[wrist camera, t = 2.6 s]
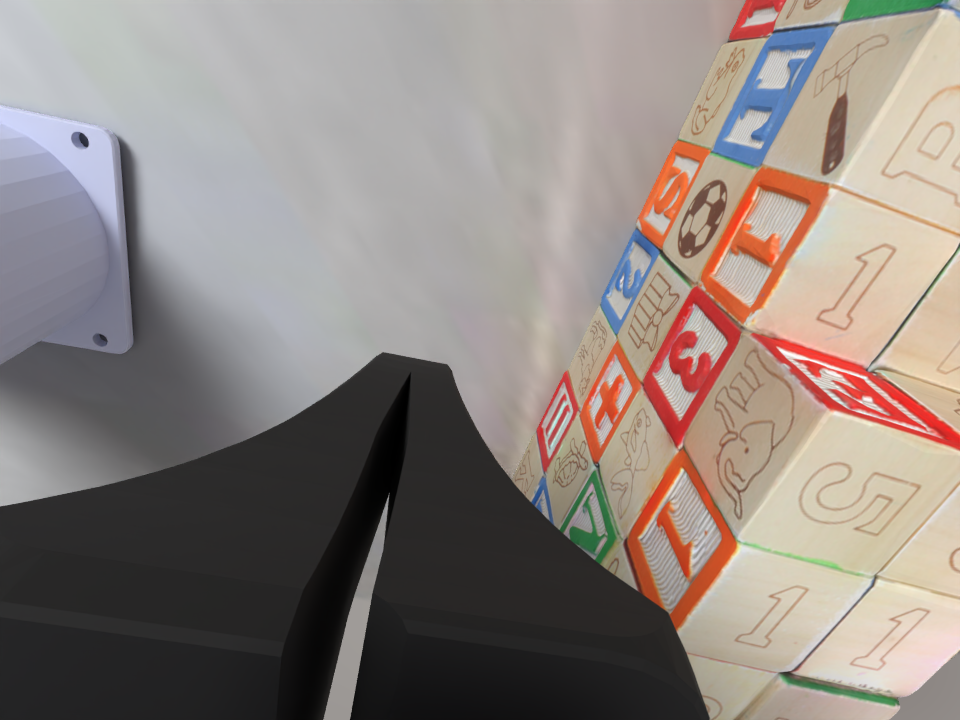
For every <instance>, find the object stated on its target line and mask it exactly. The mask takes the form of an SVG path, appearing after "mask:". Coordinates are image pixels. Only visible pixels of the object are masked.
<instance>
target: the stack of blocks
mask: <svg viewBox="0 0 960 720" xmlns="http://www.w3.org/2000/svg"><path fill="white" fill-rule="evenodd" d="M636 223H637V224H636V230H635V231H634V233H633V235H632V237H631V239H630V241H629V243H628V245H627V247H626V249H625V252H624V254H623V256H622V258H621V260H620V262H619V264H618V266H617V268H616V270H615V272H614V274H613V276H612V278H611V280H610V282H609V284H608V286H607V288H606V290H605V292H604V294H603V296H602V299H601V304H600V306H599V307H598V309H597V311H596V313H595V315H594V317H593V319H592V321H591V323H590V325H589V327H588V329H587V331H586V333H585V335H584V337H583V339H582V342H581V344H580V346H579V348H578V350H577V352H576V354H575V356H574V358H573V360H572V363H571V365H570V367H569V369H568V370H567V371H566V372H565V373H564V375H563V377H562V379H561V381H560V383H559V385H558V387H557V389H556V391H555V393H554V396H553V398H552V400H551V402H550V404H549V406H548V408H547V410H546V412H545V414H544V416H543V418H542V420H541V422H540V424H539V426H538V428H537V431H536V433H535V434H534V435H533V437H532V440H531V442H530V444H529V446H528V448H527V450H526V452H525V454H524V456H523V458H522V460H521V462H520V464H519V466H518V468H517V470H516V472H515V474H514V476H513V478H512V481H513V483H514V484H515V485H516V486H517V487H518V489H519V490H520V491H521V492H522V493H523V494H524V495H525V496H526V497H527V499H528V500H529V501H530V502H531V503H532V504H533V505H534V506H535V507H536V508H537V509H538V510H539V511H540V512H541V513H542V514H543V515H544V516H545V517H546V518H547V519H548V520H549V521H550V522H551V523H552V524H553V525H554V526H556V527H557V528H558V529H559V530H560V531H561V532H562V533H563V534H564V535H566V536H567V537H568V538H569V539H570V540H571V541H572V542H574V543H575V544H576V545H577V546H578V547H580V548H581V549H582V550H583V551H584V552H586V553H587V554H588V555H589V556H591V557H592V558H593V559H594V560H595V561H597V562H598V563H599V564H600V565H602V566H603V567H604V568H606V569H607V570H608V571H610V572H611V573H613V574H614V575H615V576H617V577H618V578H620V579H621V580H623V581H624V582H625V583H627V584H628V585H630V586H631V587H633V588H634V589H636V590H637V591H638V592H640V593H641V594H643V595H644V596H646V597H647V598H648V599H650V600H651V601H653V602H654V603H656V604H657V605H659V606H660V607H661V608H663V609H664V610H666V611H667V612H668V613H669V615H670V617H671V620H672V622H673V624H674V627H675V629H676V631H677V633H678V635H679V638H680V640H681V642H682V644H683V646H684V648H685V651H686V653H687V655H688V658H689V661H690V663H691V666H692V669H693V671H694V674H695V677H696V680H697V683H698V686H699V689H700V691H701V694H702V697H703V700H704V703H705V706H706V708H707V711H708V714H709V717H710V720H889V719H890V718H891V717H893V716H894V715H895V714H896V713H897V711H898V710H899V709H900V704H899V701H898V698H899V697H904V696H908V695H910V694H912V693H914V692H915V691H916V690H918V689H919V688H920V687H921V686H922V685H923V684H924V683H925V682H926V681H927V680H928V679H929V678H930V677H931V676H932V675H934V674H935V673H936V672H937V671H938V670H939V669H940V668H941V667H942V666H943V665H944V664H945V663H946V662H948V661H949V660H950V659H952V658H953V657H954V656H955V655H956V654H957V653H958V652H959V651H960V0H746V2H745V4H744V6H743V8H742V10H741V12H740V14H739V17H738V19H737V22H736V24H735V26H734V27H733V29H732V31H731V33H730V37H729V41H728V42H727V43H726V44H724V45H722V47H721V48H720V50H719V52H718V54H717V56H716V58H715V60H714V62H713V65H712V67H711V69H710V71H709V73H708V75H707V77H706V79H705V81H704V83H703V85H702V87H701V90H700V92H699V94H698V96H697V98H696V100H695V102H694V104H693V106H692V108H691V110H690V113H689V115H688V117H687V119H686V121H685V123H684V125H683V127H682V130H681V132H680V135H679V138H678V140H677V142H676V143H675V144H674V146H673V148H672V150H671V152H670V154H669V156H668V158H667V160H666V162H665V164H664V166H663V168H662V170H661V172H660V174H659V176H658V178H657V180H656V182H655V184H654V186H653V188H652V191H651V193H650V195H649V197H648V199H647V201H646V203H645V205H644V207H643V209H642V212H641V213H640V215H639V217H638V219H637V222H636Z"/></svg>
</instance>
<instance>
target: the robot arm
mask: <svg viewBox="0 0 960 720" xmlns="http://www.w3.org/2000/svg"><path fill="white" fill-rule="evenodd" d="M80 133H83V134H84V135H85V136H86V137H87V138H88V141H89V146H88V148H87V147H85V146H83V144H82V143H81V142H80V139H79V134H80ZM99 334H102V335H104V336H105V337H106V338H107V341H108V342H105V341H103V340H102V339H101V338H100V336H99ZM39 341H43V342H49V343H55V344H61V345H67V346H73V347H78V348H84V349H90V350H96V351H102V352H108V353H113V354H122V353H125V352H127V351H128V350H129V349H130V348H131V347H132V346H133V326H132V312H131V298H130V284H129V270H128V256H127V242H126V228H125V214H124V199H123V185H122V171H121V157H120V146H119V142H118V139H117V138H116V136H115V135H114V133H112V132H111V131H110V130H109V129H107V128H104V127H102V126H97V125H92V124H88V123H83V122H78V121H74V120H69V119H64V118H59V117H55V116H50V115H45V114H41V113H36V112H31V111H26V110H22V109H17V108H12V107H8V106H3V105H0V365H1V364H3V363H4V362H6V361H8V360H9V359H11V358H13V357H14V356H16V355H18V354H19V353H21V352H23V351H24V350H26V349H27V348H29V347H31V346H32V345H34V344H36V343H37V342H39ZM389 492H390V494H389ZM388 495H389V503H388V513H387V522H386V531H385V540H384V549H383V553H382V557H381V561H380V565H379V569H378V574H377V578H376V582H375V585H374V589H373V594H372V599H371V605H370V611H369V617H368V622H367V628H366V633H365V639H364V644H363V650H362V656H361V661H360V667H359V673H358V678H357V684H356V690H355V695H354V701H353V706H352V712H351V718H350V720H710V717H709V714H708V711H707V708H706V706H705V703H704V700H703V697H702V694H701V691H700V689H699V686H698V683H697V680H696V677H695V674H694V671H693V669H692V666H691V663H690V661H689V658H688V655H687V653H686V651H685V648H684V646H683V644H682V642H681V640H680V638H679V635H678V633H677V631H676V629H675V627H674V624H673V622H672V620H671V617H670V615H669V613H668V612H667V611H666V610H664V609H663V608H661V607H660V606H659V605H657V604H656V603H654V602H653V601H651V600H650V599H648V598H647V597H646V596H644V595H643V594H641V593H640V592H638V591H637V590H636V589H634V588H633V587H631V586H630V585H628V584H627V583H625V582H624V581H623V580H621V579H620V578H618V577H617V576H615V575H614V574H613V573H611V572H610V571H608V570H607V569H606V568H604V567H603V566H602V565H600V564H599V563H598V562H597V561H595V560H594V559H593V558H592V557H591V556H589V555H588V554H587V553H586V552H584V551H583V550H582V549H581V548H580V547H578V546H577V545H576V544H575V543H574V542H572V541H571V540H570V539H569V538H568V537H567V536H566V535H564V534H563V533H562V532H561V531H560V530H559V529H558V528H557V527H556V526H554V525H553V524H552V523H551V522H550V521H549V520H548V519H547V518H546V517H545V516H544V515H543V514H542V513H541V512H540V511H539V510H538V509H537V508H536V507H535V506H534V505H533V504H532V503H531V502H530V501H529V500H528V499H527V497H526V496H525V495H524V494H523V493H522V492H521V491H520V490H519V489H518V487H517V486H516V485H515V484H514V483H513V481H512V480H511V479H510V478H509V476H508V475H507V474H506V473H505V471H504V470H503V469H502V468H501V466H500V465H499V463H498V462H497V461H496V459H495V458H494V456H493V455H492V453H491V452H490V450H489V448H488V447H487V445H486V444H485V442H484V440H483V439H482V437H481V435H480V434H479V432H478V430H477V428H476V427H475V425H474V423H473V421H472V419H471V417H470V415H469V413H468V411H467V409H466V407H465V405H464V403H463V400H462V398H461V396H460V393H459V391H458V389H457V386H456V383H455V380H454V377H453V373H452V370H451V369H450V367H449V366H448V365H447V364H442V363H436V362H431V361H426V360H421V359H416V358H410V357H405V356H400V355H395V354H389V353H384V352H383V353H381V354H379V355H378V356H376V357H375V358H374V359H373V360H372V361H370V362H369V363H368V364H367V365H366V366H365V367H363V368H362V369H361V370H360V371H359V372H357V373H356V374H355V375H354V376H352V377H351V378H350V379H349V380H347V381H346V382H345V383H343V384H342V385H340V386H339V387H338V388H336V389H335V390H334V391H332V392H331V393H330V394H328V395H327V396H325V397H324V398H322V399H321V400H319V401H318V402H316V403H315V404H313V405H311V406H310V407H308V408H307V409H305V410H303V411H302V412H300V413H299V414H297V415H296V416H294V417H292V418H290V419H289V420H287V421H285V422H283V423H281V424H279V425H277V426H275V427H273V428H271V429H269V430H267V431H265V432H263V433H261V434H259V435H256V436H254V437H252V438H250V439H247V440H245V441H243V442H240V443H237V444H235V445H232V446H230V447H227V448H224V449H222V450H219V451H216V452H214V453H211V454H209V455H206V456H203V457H201V458H198V459H195V460H193V461H190V462H187V463H184V464H180V465H177V466H174V467H171V468H167V469H164V470H161V471H158V472H154V473H150V474H147V475H143V476H139V477H136V478H132V479H128V480H125V481H121V482H117V483H113V484H109V485H105V486H101V487H96V488H91V489H86V490H82V491H77V492H72V493H67V494H62V495H57V496H53V497H48V498H43V499H38V500H33V501H28V502H23V503H18V504H12V505H7V506H1V507H0V720H323V719H324V714H325V710H326V706H327V702H328V697H329V693H330V689H331V685H332V680H333V676H334V672H335V668H336V664H337V660H338V655H339V651H340V647H341V643H342V639H343V635H344V631H345V627H346V622H347V618H348V615H349V611H350V608H351V605H352V601H353V598H354V595H355V592H356V589H357V586H358V583H359V580H360V577H361V574H362V571H363V568H364V565H365V563H366V560H367V557H368V554H369V551H370V548H371V545H372V542H373V539H374V536H375V533H376V531H377V528H378V525H379V522H380V519H381V516H382V513H383V510H384V507H385V504H386V501H387V498H388Z"/></svg>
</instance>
